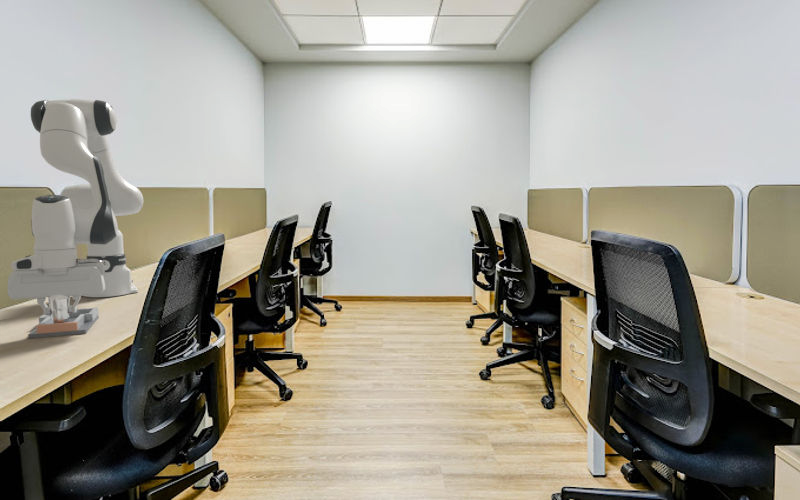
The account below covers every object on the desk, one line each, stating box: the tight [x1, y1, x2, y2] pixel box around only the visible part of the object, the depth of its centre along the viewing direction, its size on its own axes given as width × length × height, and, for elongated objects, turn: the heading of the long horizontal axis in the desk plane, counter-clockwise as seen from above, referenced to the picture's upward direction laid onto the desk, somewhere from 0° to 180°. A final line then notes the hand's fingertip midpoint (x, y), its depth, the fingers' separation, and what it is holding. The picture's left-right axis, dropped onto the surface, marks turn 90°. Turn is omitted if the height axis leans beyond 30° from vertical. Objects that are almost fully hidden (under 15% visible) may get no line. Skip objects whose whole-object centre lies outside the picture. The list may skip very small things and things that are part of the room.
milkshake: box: [47, 294, 71, 324], centre depth 125 cm, size 5×5×10 cm
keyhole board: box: [27, 306, 100, 339], centre depth 130 cm, size 18×12×3 cm, turn 23°
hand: (60, 313), depth 125 cm, fingers closed on milkshake, 4 cm apart
